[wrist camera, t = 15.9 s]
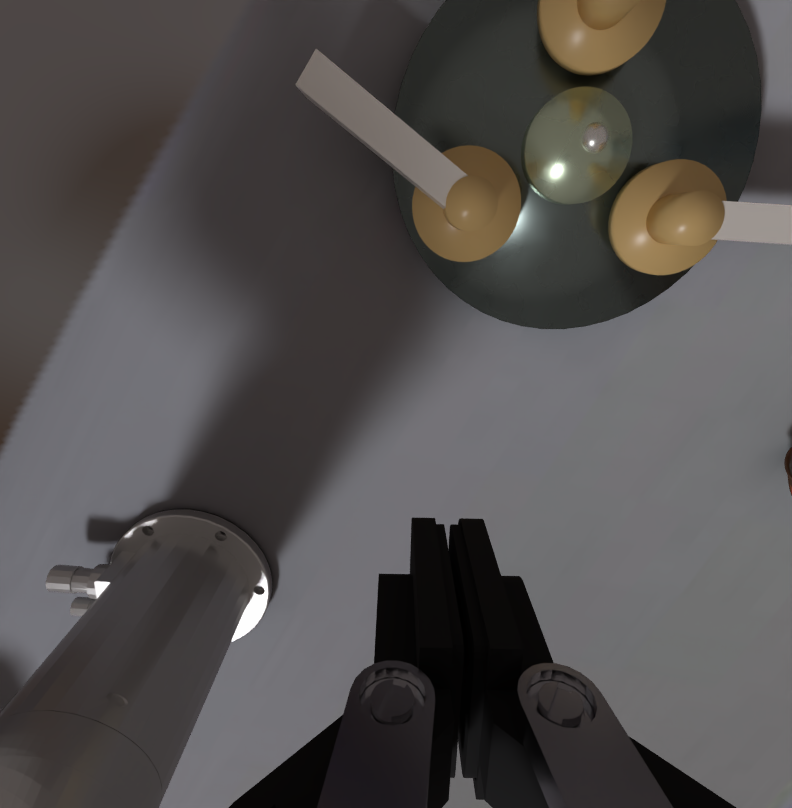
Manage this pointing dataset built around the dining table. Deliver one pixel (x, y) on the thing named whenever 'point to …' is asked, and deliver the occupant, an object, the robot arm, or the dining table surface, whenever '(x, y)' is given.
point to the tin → (789, 467)
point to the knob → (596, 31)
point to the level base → (576, 144)
